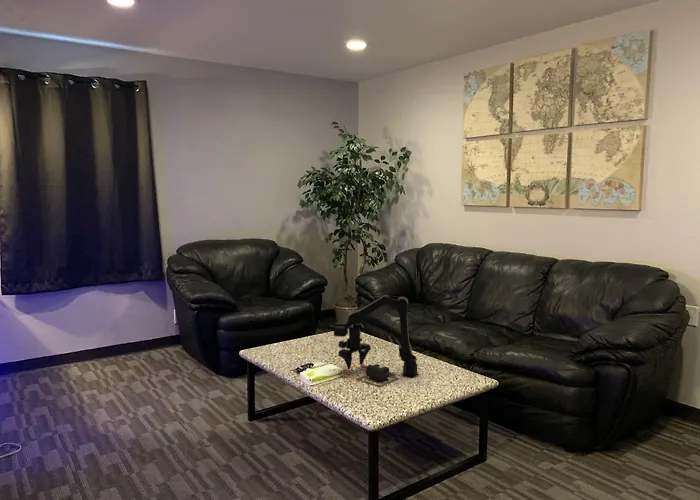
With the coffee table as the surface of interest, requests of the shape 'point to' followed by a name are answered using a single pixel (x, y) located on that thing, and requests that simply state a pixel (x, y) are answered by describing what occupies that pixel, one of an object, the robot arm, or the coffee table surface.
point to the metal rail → (386, 373)
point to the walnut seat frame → (376, 384)
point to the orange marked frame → (353, 377)
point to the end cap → (377, 372)
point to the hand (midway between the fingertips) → (355, 366)
